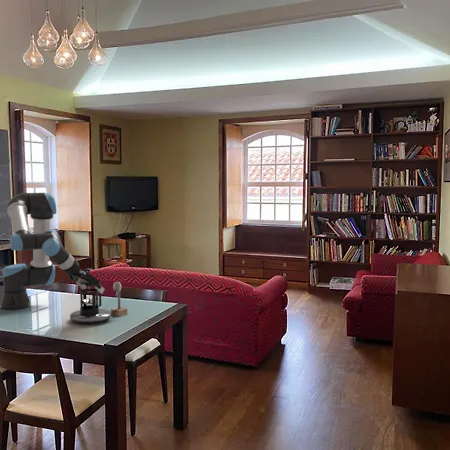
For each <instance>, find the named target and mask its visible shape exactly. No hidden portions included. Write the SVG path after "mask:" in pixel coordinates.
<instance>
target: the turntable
mask: <svg viewBox="0 0 450 450" xmlns="http://www.w3.org/2000/svg"><path fill="white" fill-rule="evenodd" d="M111 317H112V315H111V310H109V309H106V308H99V314H98V315H95V316H81V315H80V309H79V310H76V311H75V310H74V311H73V312H71V313H70V314H69V319H70V320H71V321H74V322H78V323H86V322H92V323H97V322H101V321H106V320H108V319H110V318H111Z"/></svg>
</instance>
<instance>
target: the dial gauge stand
mask: <svg viewBox="0 0 450 450" xmlns="http://www.w3.org/2000/svg"><path fill="white" fill-rule="evenodd" d="M112 287H113V291H115V292H117V307H113V308H111V309H110V311H111V316H115V317H122V316H125V315H128V308H127V307H122V306H121V291H122V284H121V282H120V281H114V283H113V285H112Z"/></svg>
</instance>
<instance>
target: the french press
mask: <svg viewBox="0 0 450 450" xmlns="http://www.w3.org/2000/svg"><path fill="white" fill-rule="evenodd" d="M83 270H86V271H87V272H88V273H89V274H90V273H91V271H92V270H94V269H93V268H85V269H83ZM80 283H81V285H82V284H84V285H86V286H87V287H86V288H85V289H82V288H81V289H80V290H79V294H80V298H79V299H80V309H79V310H80V315H81V316H95V315H98V314H99V309H100V307H102V294H101V293H100V292H99V291H98V290H97V289H96V288H94V285H92V284H91V283H89V282H87V281H86V280H84V279H81V281H80ZM90 287H93V288H90ZM87 296H88V299H87ZM90 296H92V297H90Z"/></svg>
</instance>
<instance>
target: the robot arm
mask: <svg viewBox="0 0 450 450" xmlns="http://www.w3.org/2000/svg"><path fill="white" fill-rule="evenodd" d="M6 213H7V215H8V216H9V217H10V222H11V223H10V224H11V229H12V234H11V235H10V238H9V243H10V249H11V250H12V251H19V252H20V251H28V250H29V251H30V250H31V251H32V250H33V251H32V253H33V254H32V256H33V257H32V260H31V261H30V264H29V265H26V263H16V264H11V265H8V266H5V267H4V268H3V272H2V278H3V285H2V286H3V295H2V298H1V301H0V309H1V310H6V311H7V310H9V311H11V310H21V309H26V308H28V307H30V306H31V300H30V298H29V295H28V292H27V288H29V287H41V286H44V287H45V286H50V285H52V284H53V283H54V282H55V278H56V268H55V267H56V266H55V264H56V265H57V266H58V269H61V270H62V271H63V272H64V273H65V274H66V275H67V276H68V278H69V280H70V281H72V282H74V283H76V285H78V286H79V287H80V288H81V290H82V289H87V288H88V287H87V286H86V285H84V284H82V285H81V283H80V281H81V280H86V281H87V282H89V283H91V284H92V285H94V286H93V288H94V289H97V290H98V293H99V292H100V293H101V295H103V293H104V291H105V288H104V287H103V286H102V284H100V280H99V279H98V278H97V277H95V276H93V275H92V274H90V273H88V270H84V269H83V270H82V269H81V268H80V263H79V262H78V261H77V260H76V259H75V258H74V256H73V255H71V253H70V252H69V251H67V250H66V248H65V247H64V245H63V244H62V240H61V236H60V235H59V233H58V231H56V230H55V229H51V221H52V220H53V219H54V215H56V214H57V203H56V199H55V195H54V194H53V193H49V192H21V193H19V194H18V193H17V194H16V195H14V196H12V198H11V199H9V201H8V203H7V205H6ZM27 215H30V218H31V220H33V226H32V227H33V229H32V230H33V233H31V230H30V225H29V221H28V217H27ZM50 259H51V260H50ZM52 261H53V262H54V263H55V264H53V262H52Z"/></svg>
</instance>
